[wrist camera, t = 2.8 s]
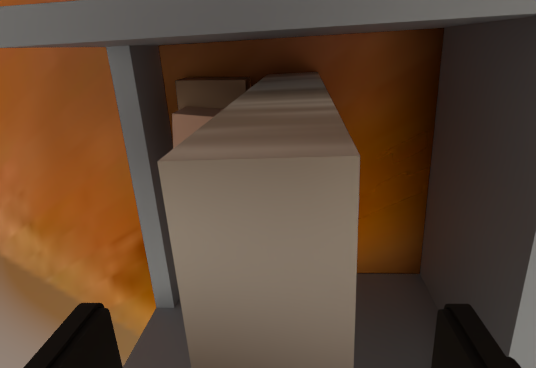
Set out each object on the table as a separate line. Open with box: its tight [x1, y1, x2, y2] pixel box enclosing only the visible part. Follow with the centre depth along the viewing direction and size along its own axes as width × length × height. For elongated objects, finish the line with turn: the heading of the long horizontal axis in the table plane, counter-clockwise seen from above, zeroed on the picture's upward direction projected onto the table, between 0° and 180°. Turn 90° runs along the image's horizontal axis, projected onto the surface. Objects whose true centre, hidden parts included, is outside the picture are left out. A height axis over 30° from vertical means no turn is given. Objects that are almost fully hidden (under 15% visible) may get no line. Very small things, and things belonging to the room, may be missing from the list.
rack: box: [0, 0, 536, 368], centre depth 19 cm, size 18×19×11 cm
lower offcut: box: [175, 77, 251, 110], centre depth 24 cm, size 12×4×2 cm, turn 1°
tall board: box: [157, 72, 360, 368], centre depth 16 cm, size 12×3×18 cm, turn 3°
